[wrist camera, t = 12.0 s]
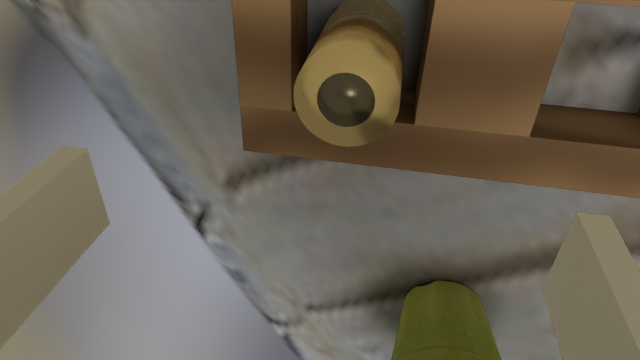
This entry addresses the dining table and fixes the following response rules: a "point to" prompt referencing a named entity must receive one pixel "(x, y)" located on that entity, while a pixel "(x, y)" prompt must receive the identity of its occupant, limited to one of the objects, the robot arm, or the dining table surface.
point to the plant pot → (444, 325)
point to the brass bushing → (353, 74)
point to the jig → (450, 99)
